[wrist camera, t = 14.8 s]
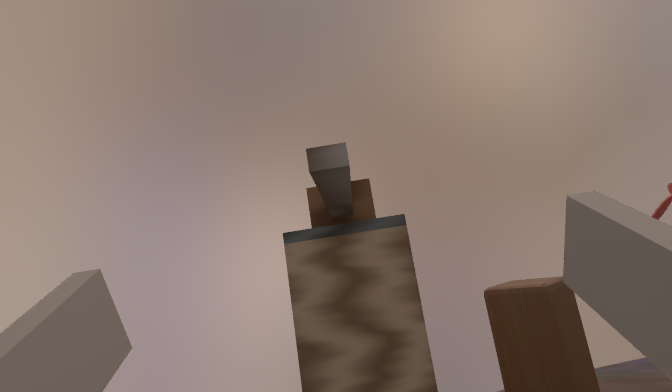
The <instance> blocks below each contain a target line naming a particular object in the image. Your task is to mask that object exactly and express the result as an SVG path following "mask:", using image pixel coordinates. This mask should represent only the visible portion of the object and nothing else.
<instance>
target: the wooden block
mask: <svg viewBox="0 0 672 392" xmlns="http://www.w3.org/2000/svg"><path fill="white" fill-rule="evenodd" d="M484 297H485V302H486V307H487V311H488V316H489V320H490V325H491V329H492V333H493V339H494V343H495V348H496V352H497V357H498V361H499V366H500V370H501V375H502V379H503V384H504V389H505V392H600V389H599V385H598V382H597V378H596V374H595V370H594V367H593V363H592V359H591V355H590V351H589V348H588V344H587V340H586V336H585V333H584V329H583V325H582V321H581V318H580V314H579V310H578V306H577V302H576V299H575V295H574V292H573V291H572V290H571V289H570V288H569V287H568V286H567V285H566V284H565V283H563V277H552V278H540V279H527V280H516V281H510V282H506V283H503V284H499V285H496V286H493V287H489V288H487V289H486V290H485V291H484Z"/></svg>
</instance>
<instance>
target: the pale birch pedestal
mask: <svg viewBox="0 0 672 392" xmlns="http://www.w3.org/2000/svg"><path fill="white" fill-rule="evenodd" d="M283 238H284V246H285V254H286V262H287V271H288V278H289V286H290V295H291V303H292V310H293V319H294V327H295V335H296V343H297V351H298V359H299V367H300V375H301V384H302V392H438V390H437V385H436V380H435V375H434V369H433V364H432V359H431V354H430V348H429V343H428V337H427V332H426V327H425V321H424V316H423V311H422V305H421V300H420V295H419V289H418V284H417V279H416V274H415V268H414V263H413V258H412V252H411V247H410V241H409V236H408V231H407V226H406V220H405V215H404V214H401V215H395V216H388V217H382V218H376V219H369V220H363V221H357V222H350V223H344V224H338V225H331V226H325V227H318V228H312V229H306V230H300V231H294V232H287V233H283Z"/></svg>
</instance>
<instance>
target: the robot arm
mask: <svg viewBox="0 0 672 392" xmlns="http://www.w3.org/2000/svg"><path fill="white" fill-rule="evenodd" d="M563 283H565V284H566V285H567V286H568V287H569V288H570V289H571V290H572V291H573V292H575V293H576V294H577V295H578V296H579V297H580V298H581V299H582V300H583V301H585V302H586V303H587V304H588V305H589V306H590V307H591V308H592V309H593V310H595V311H596V312H597V313H598V314H599V315H600V316H601V317H602V318H603V319H605V320H606V321H607V322H608V323H609V324H610V325H611V326H612V327H613V328H615V329H616V330H617V331H618V332H619V333H620V334H621V335H622V336H623V337H624V338H626V339H627V340H628V341H629V342H630V343H631V344H632V345H633V346H634V347H636V348H637V349H638V350H639V351H640V352H641V353H642V354H643V355H645V356H646V357H647V358H648V359H649V360H650V361H651V362H652V363H653V364H654V365H656V366H657V367H658V368H659V369H660V370H661V371H662V372H663V373H664V374H666V375H667V376H668V377H669V378H670V379H671V380H672V226H670V225H667V224H665V223H663V222H661V221H659V220H657V219H655V218H652V217H650V216H648V215H646V214H643V213H641V212H639V211H637V210H635V209H633V208H631V207H628V206H626V205H624V204H622V203H620V202H617V201H615V200H613V199H611V198H609V197H607V196H604V195H602V194H600V193H598V192H596V191H592V192H585V193H579V194H573V195H567V200H566V224H565V249H564V272H563ZM131 349H132V346H131V344H130V341H129V339H128V337H127V334H126V332H125V329H124V327H123V324H122V322H121V319H120V317H119V315H118V312H117V310H116V307H115V305H114V302H113V300H112V298H111V295H110V293H109V290H108V288H107V285H106V283H105V280H104V278H103V275H102V273H101V270H100V269H97V270H91V271H84V272H78V273H73V274H72V275H71V276H70V277H68V278H67V279H66V280H65V281H63V282H62V283H61V284H60V285H59V286H57V287H56V288H55V289H54V290H53V291H51V292H50V293H49V294H48V295H46V296H45V297H44V298H43V299H42V300H40V301H39V302H38V303H37V304H36V305H34V306H33V307H32V308H31V309H30V310H28V311H27V312H26V313H25V314H23V315H22V316H21V317H20V318H19V319H17V320H16V321H15V322H14V323H13V324H11V325H10V326H9V327H8V328H6V329H5V330H4V331H3V332H2V333H0V392H102V391H103V390H104V388H105V387H106V386H107V384H108V383H109V381H110V380H111V378H112V377H113V375H114V374H115V372H116V371H117V369H118V368H119V366H120V365H121V363H122V362H123V361H124V359H125V358H126V356H127V355H128V353H129V352H130V350H131Z"/></svg>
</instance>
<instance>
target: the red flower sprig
mask: <svg viewBox="0 0 672 392" xmlns="http://www.w3.org/2000/svg"><path fill="white" fill-rule="evenodd" d="M667 187H668V190H669V192H670V194H671V195H670V196H668V197H667V198H666V199H665V200H664V201H663V202H662V203H661V205H660V206H659V207H658V208H657V209H656V211H655V212H654V213H653V215H652V216H651V217H652V218H655V219H657V220H659V218H660V217H661V216H662V215H663V213H664V212H665V211H666V209H667V207H668V206H669V204H670V203H671V201H672V183H669V184H668V186H667Z"/></svg>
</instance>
